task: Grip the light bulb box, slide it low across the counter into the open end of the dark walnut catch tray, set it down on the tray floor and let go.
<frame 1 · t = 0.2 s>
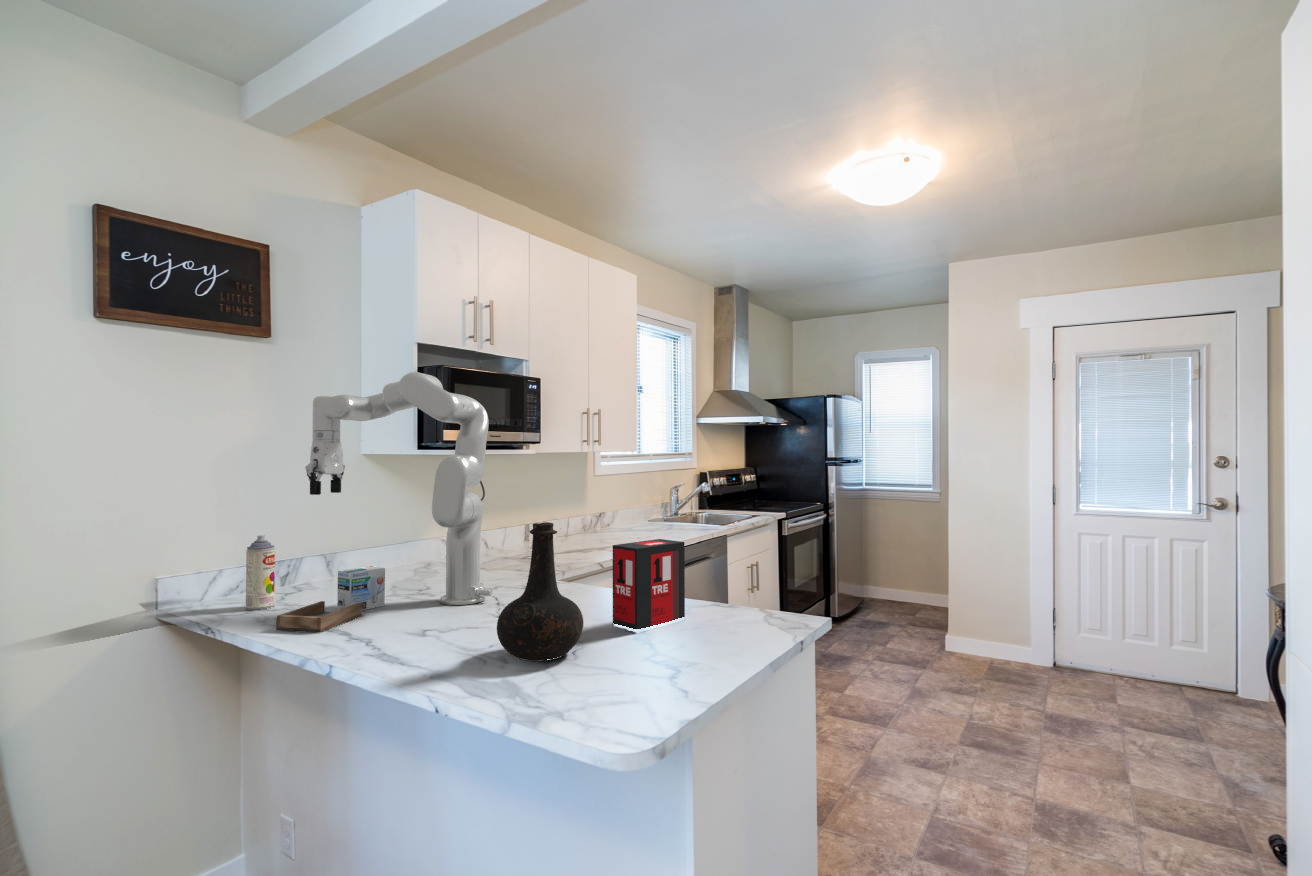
hand: (325, 493, 196), 31 cm above the worktop, tool pointing down, fingers open, 9 cm apart
glass bottle: (540, 656, 137), on the worktop
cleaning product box: (649, 624, 162), on the worktop
catch tray: (320, 622, 163), on the worktop
aerosol can: (260, 608, 180), on the worktop
light bulb box: (361, 608, 180), on the worktop
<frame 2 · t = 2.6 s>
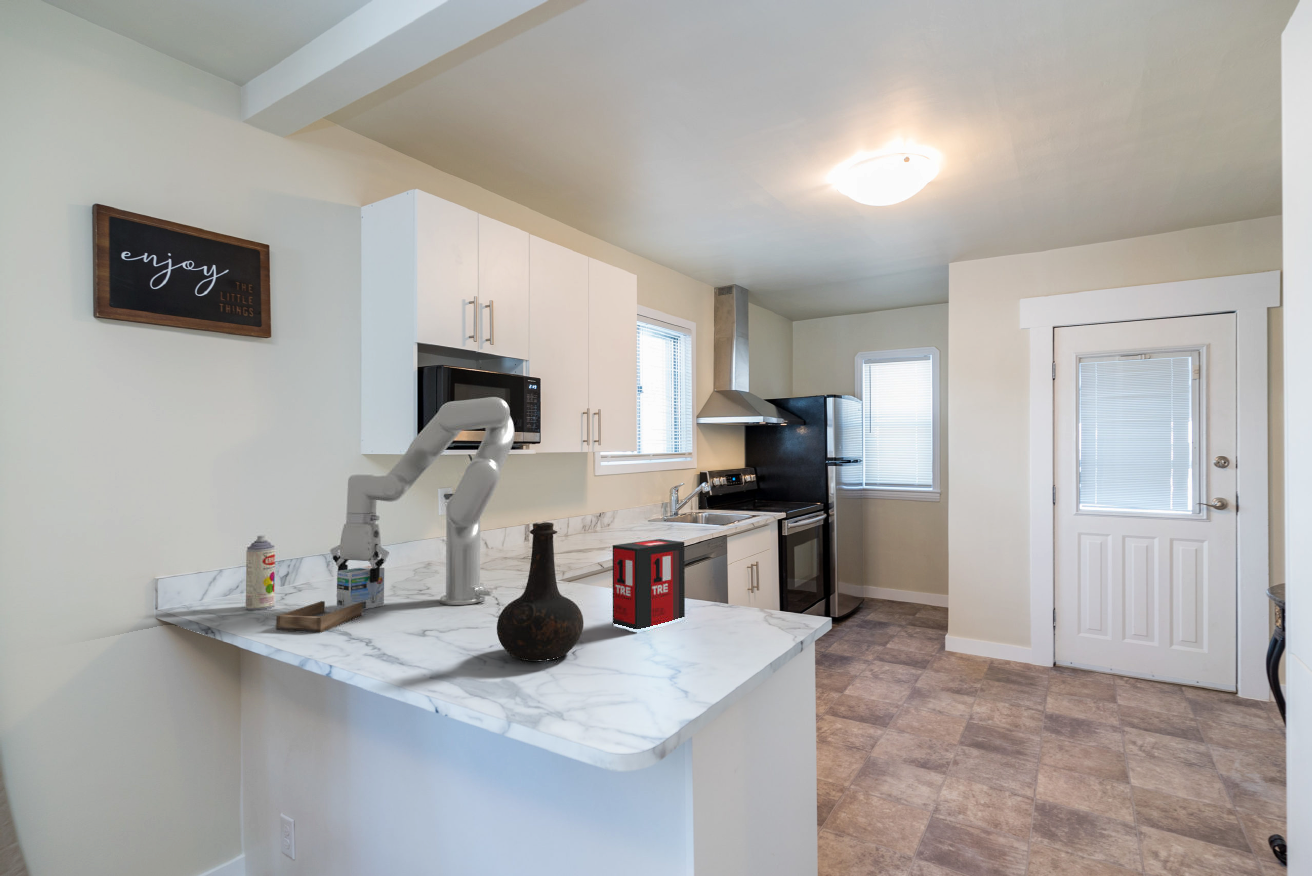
hand: (358, 580, 180), 7 cm above the worktop, tool pointing down, fingers open, 9 cm apart
nothing on the worktop moved.
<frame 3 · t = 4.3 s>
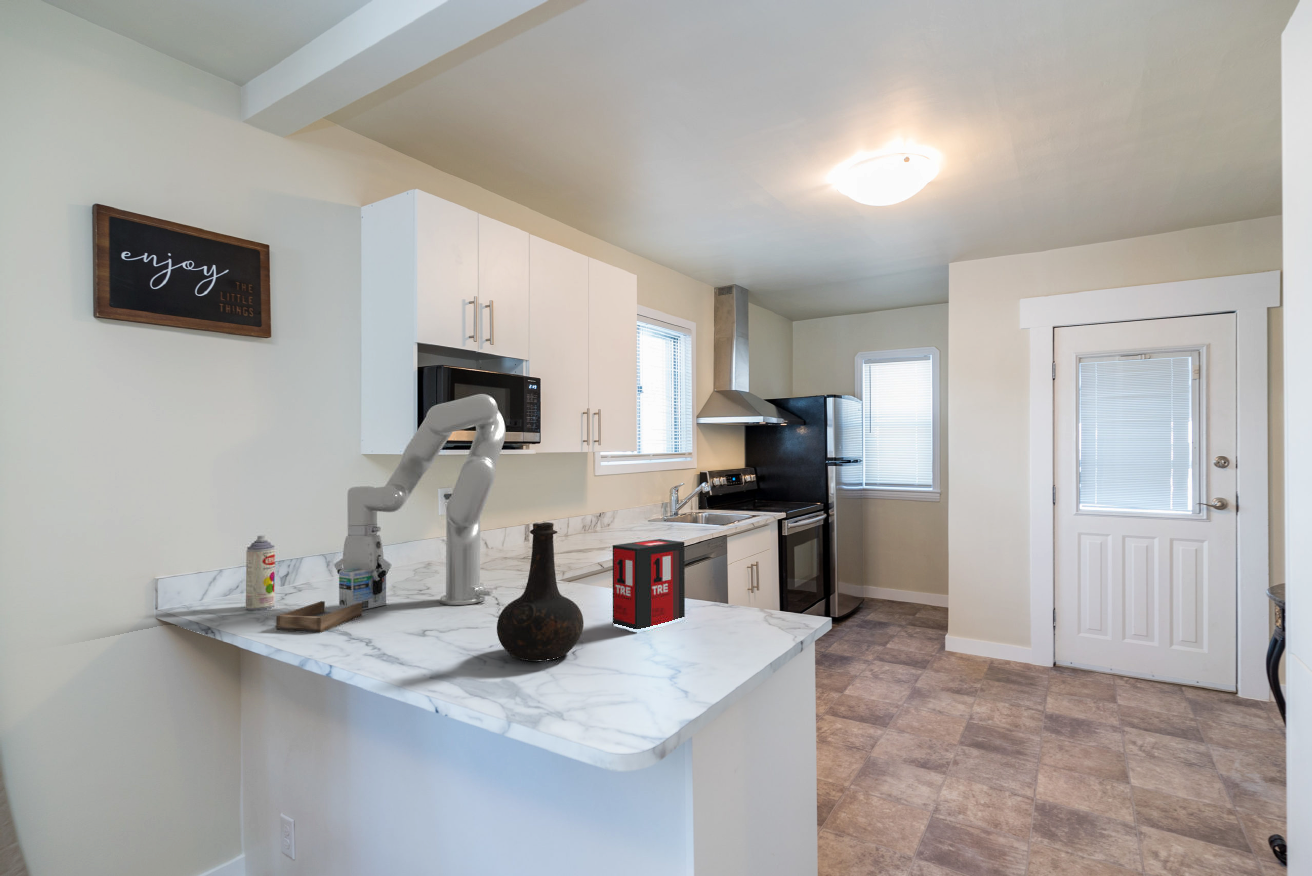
hand: (362, 593, 180), 4 cm above the worktop, tool pointing down, fingers closed on light bulb box, 8 cm apart
light bulb box: (363, 607, 180), on the worktop, touching gripper
everything else where it was.
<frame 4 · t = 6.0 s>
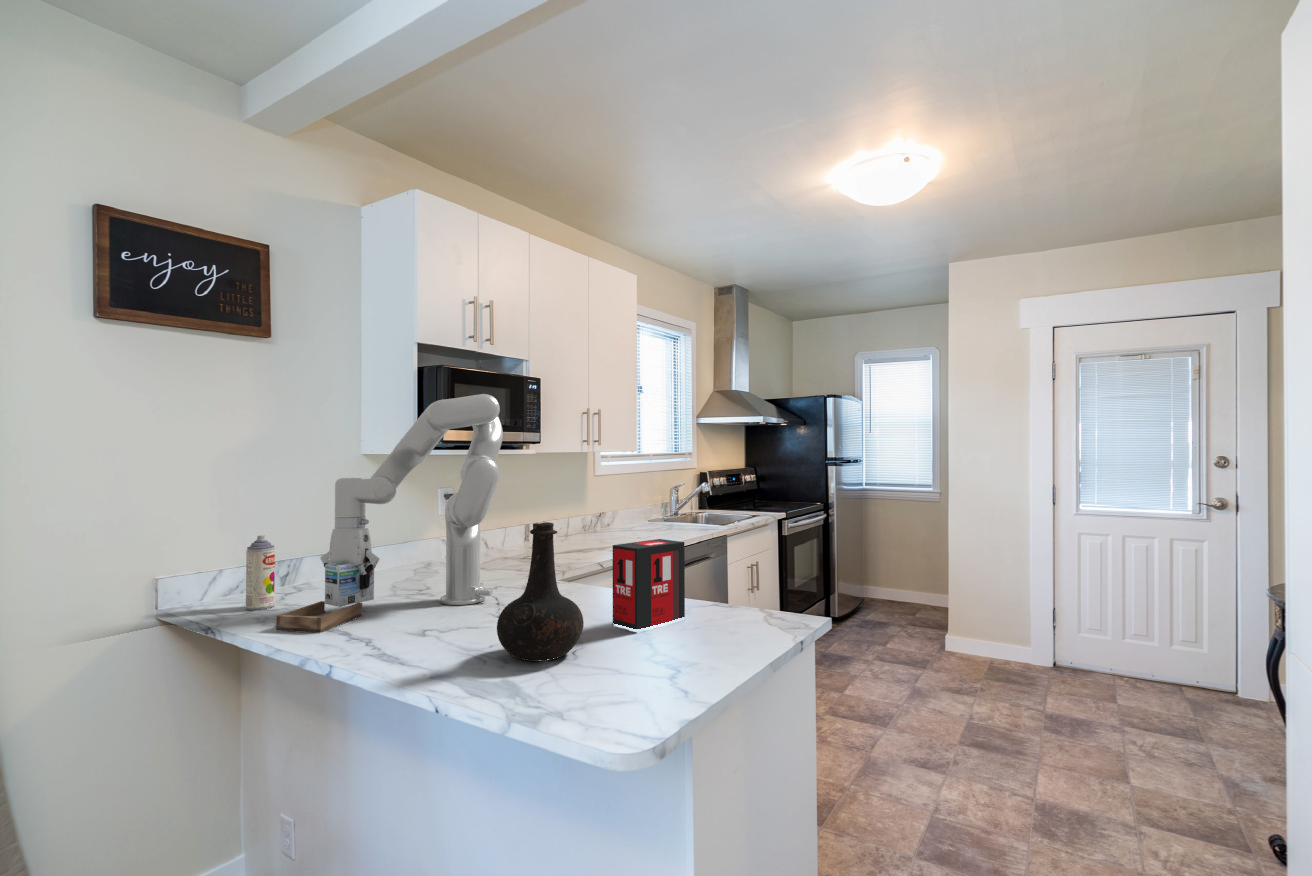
hand: (349, 587, 175), 7 cm above the worktop, tool pointing down, fingers closed on light bulb box, 8 cm apart
light bulb box: (349, 602, 175), point 3 cm above the worktop, touching gripper
everything else where it was.
when the fingers open (5 cm above the worktop, at t = 8.9 s): light bulb box stays where it is, resting on catch tray.
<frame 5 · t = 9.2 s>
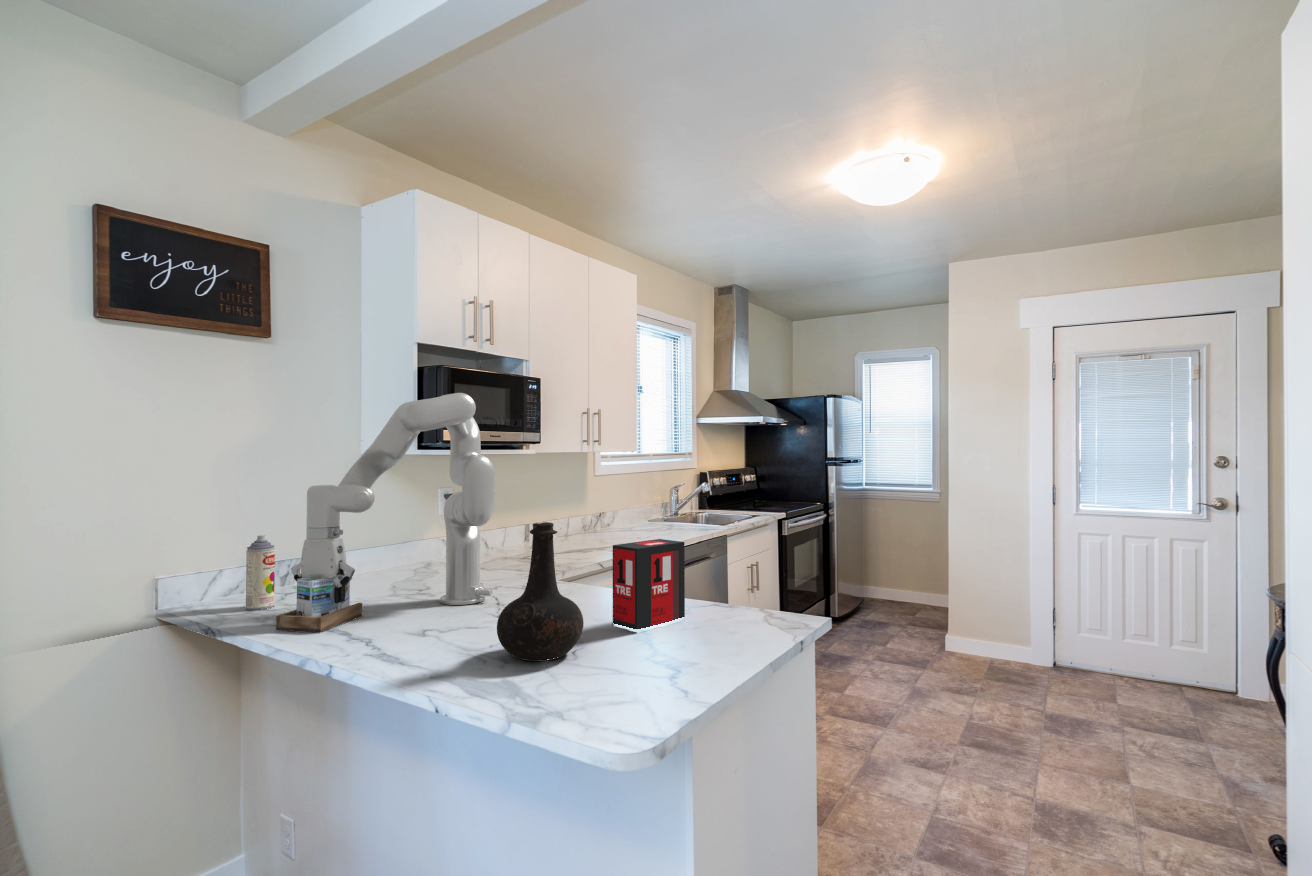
hand: (322, 601, 164), 5 cm above the worktop, tool pointing down, fingers open, 9 cm apart
light bulb box: (323, 619, 164), point 1 cm above the worktop, touching catch tray
everything else where it was.
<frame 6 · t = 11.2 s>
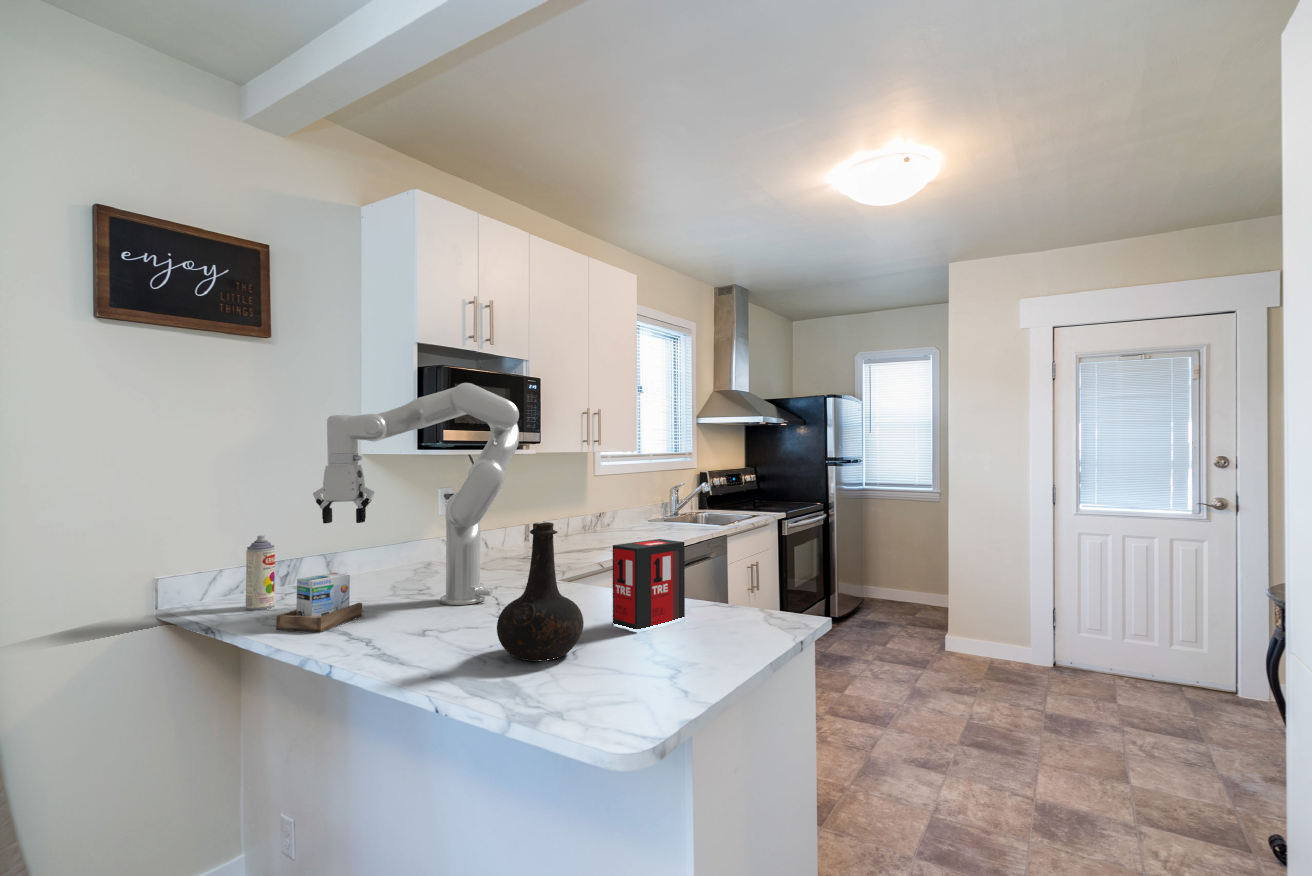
hand: (344, 522, 177), 24 cm above the worktop, tool pointing down, fingers open, 9 cm apart
nothing on the worktop moved.
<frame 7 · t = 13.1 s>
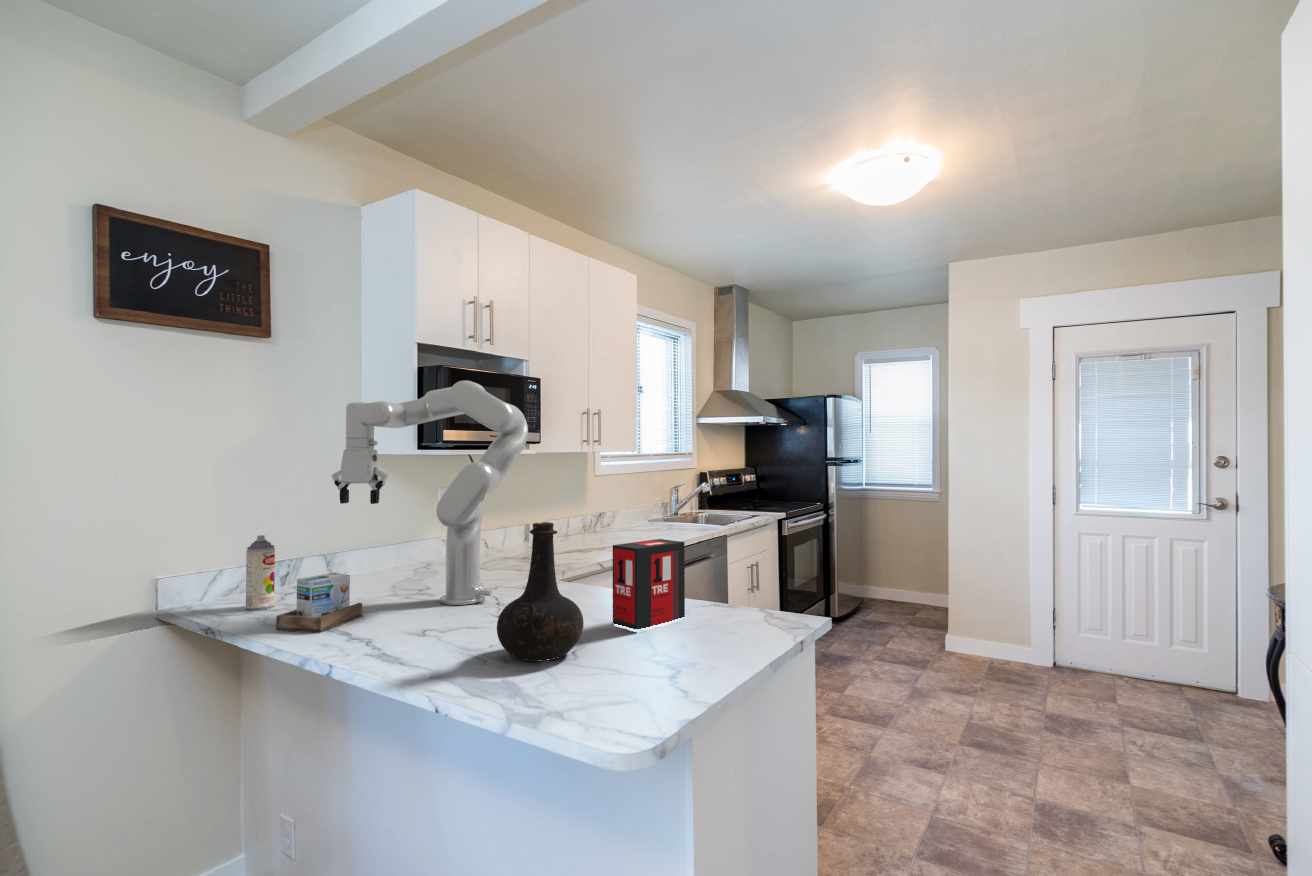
hand: (359, 503, 189), 28 cm above the worktop, tool pointing down, fingers open, 9 cm apart
nothing on the worktop moved.
at the end: light bulb box inside the target area on the catch tray (0.3 cm from its centre), point 0.6 cm above the catch tray's base; light bulb box tilted 0°; the gripper is holding nothing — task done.
